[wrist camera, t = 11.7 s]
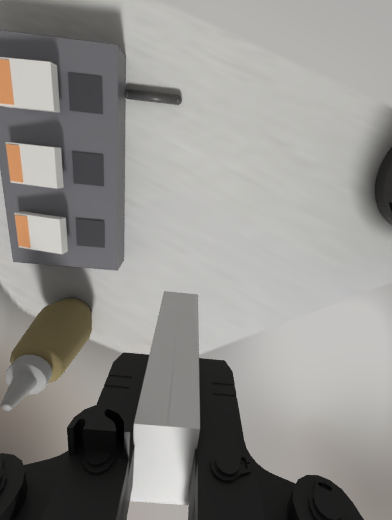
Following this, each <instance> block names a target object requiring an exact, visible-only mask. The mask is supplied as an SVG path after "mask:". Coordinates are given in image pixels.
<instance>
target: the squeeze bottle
mask: <svg viewBox="0 0 392 520" xmlns="http://www.w3.org/2000/svg"><path fill="white" fill-rule="evenodd" d="M91 331H92V316H91V311H90V309H89V307H88V306H87V305H86V304H85V303H84V302H82V301H81V300H78V299H75V298H66V299H63V300H61V301H58V302H56V303H53V304H51V305H48V306H46V307H44V308H43V309H42V311H41V312H40V313H39V314H38V315H37V317H36V318H35V320H34V321H33V322H32V324H31V325H30V327H29V329H28V330H27V331H26V333H25V334H24V335H23V337H22V338H21V340H20V341H19V343H18V344H17V346H16V347H15V348H14V350H13V351H12V354H11V359H10V361H11V366H10V367H9V368H8V369H7V371H6V375H5V377H6V380H7V383H8V384H9V387H8V390H7V392H6V394H5V396H4V399H3V401H2V403H1V407H2V409H4V410H11V409H12V408H13V407H14V406H15V405H16V404H17V403H18V402H19V401H21V400H22V399H23V398H24V397H25V396H26V395H27V394H36V393H39V392H41V391H42V390H43V389H44V388H45V387H46V385H47V384H48V383H50V382H53V381H56V380H57V379H58V378H59V377H60V376H61V375H62V374H63V372H64V371H65V370H66V369H67V367H68V366H69V364H70V363H71V362H72V360H73V359H74V358H75V356H76V355H77V354H78V352H79V351H80V350H81V348H82V347H83V346H84V344H85V343H86V342H87V340H88V339H89V337H90V334H91Z"/></svg>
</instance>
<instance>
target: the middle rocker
mask: <svg viewBox="0 0 392 520" xmlns="http://www.w3.org/2000/svg"><path fill="white" fill-rule="evenodd" d="M6 150H7V158H8V166H9V174H10V181H11V183H18V184H26V185H33V186H41V187H48V188H56V189H58V188H64V186H63V170H62V155H61V148H58V147H49V146H40V145H31V144H22V143H12V142H6Z"/></svg>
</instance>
